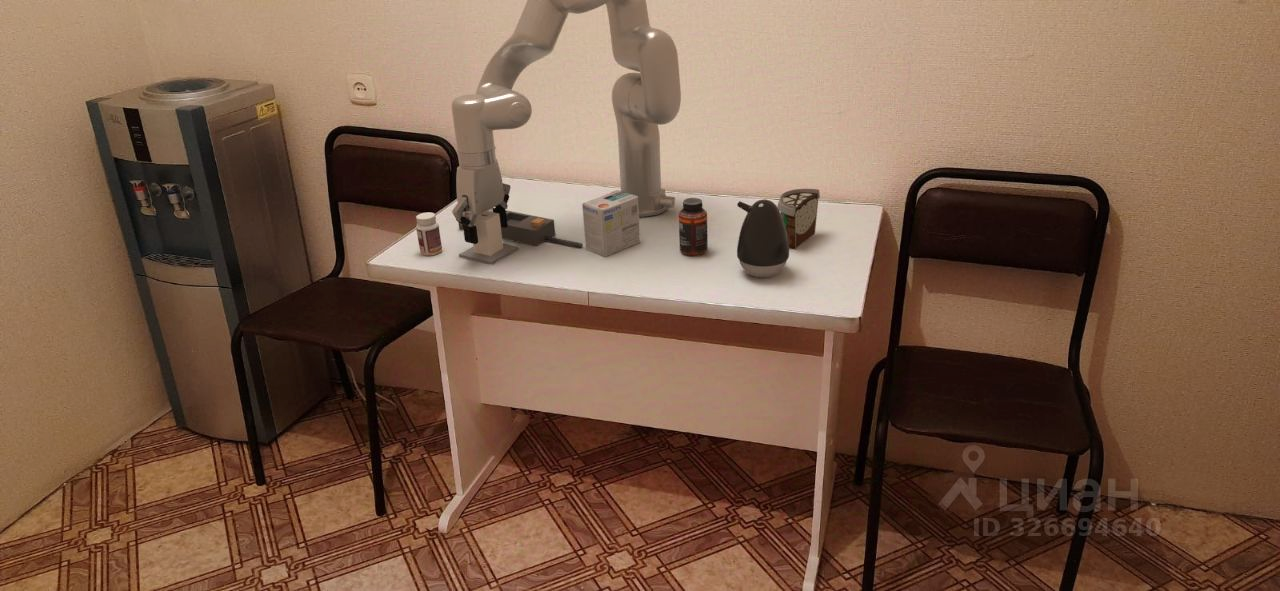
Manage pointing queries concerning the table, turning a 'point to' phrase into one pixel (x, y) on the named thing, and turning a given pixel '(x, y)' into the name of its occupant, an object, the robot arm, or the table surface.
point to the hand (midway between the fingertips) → (486, 234)
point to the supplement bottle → (693, 228)
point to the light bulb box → (611, 222)
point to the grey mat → (489, 259)
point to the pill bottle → (428, 234)
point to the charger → (488, 233)
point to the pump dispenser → (762, 239)
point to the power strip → (529, 229)
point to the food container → (799, 214)
